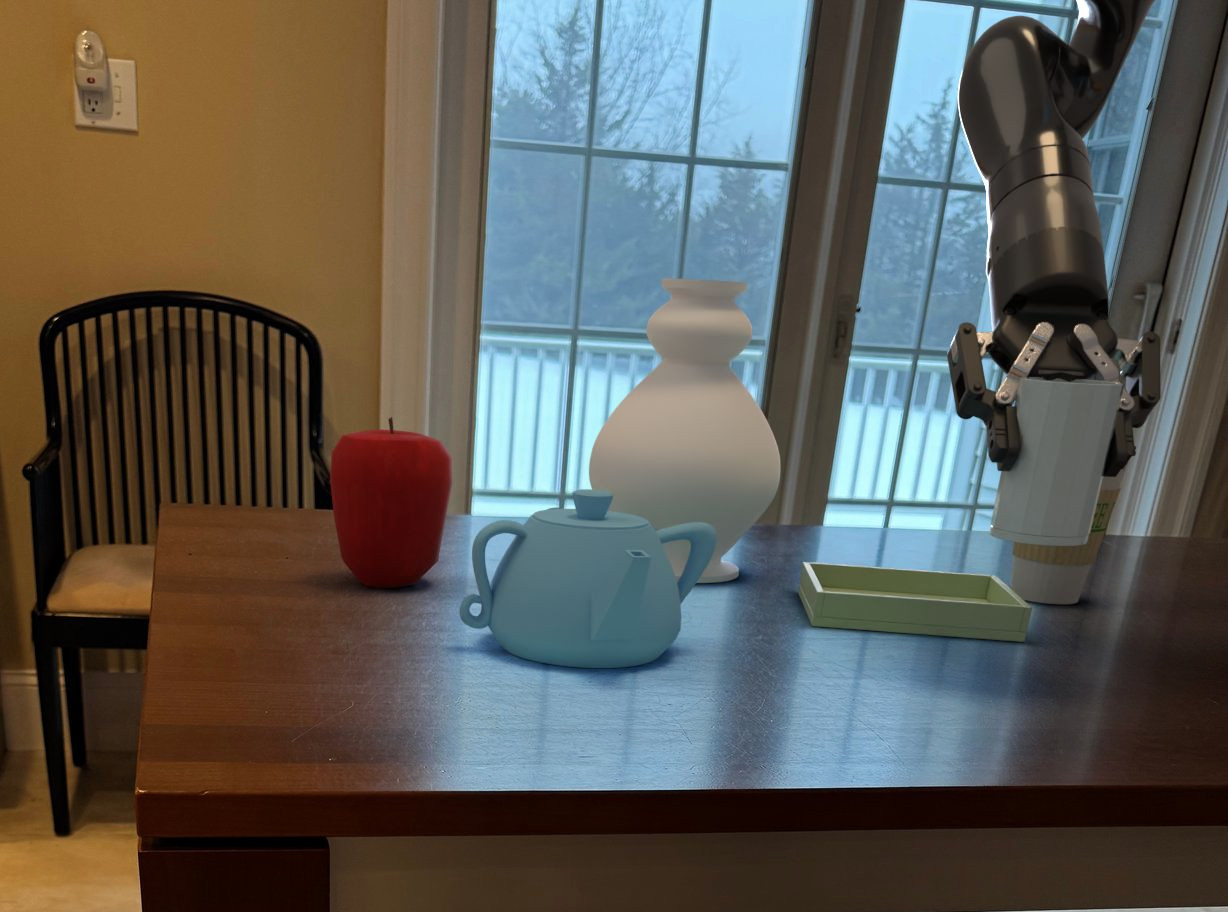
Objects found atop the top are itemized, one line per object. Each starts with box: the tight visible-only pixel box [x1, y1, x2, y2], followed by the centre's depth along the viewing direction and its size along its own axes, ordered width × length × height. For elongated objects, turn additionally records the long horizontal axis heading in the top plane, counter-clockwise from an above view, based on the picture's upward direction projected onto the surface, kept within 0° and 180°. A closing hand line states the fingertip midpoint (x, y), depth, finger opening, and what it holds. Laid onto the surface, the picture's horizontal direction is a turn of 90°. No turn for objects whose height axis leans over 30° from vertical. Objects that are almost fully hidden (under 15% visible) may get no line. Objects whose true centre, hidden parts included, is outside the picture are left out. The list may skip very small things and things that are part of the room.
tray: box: [797, 561, 1033, 643], centre depth 120 cm, size 17×14×3 cm
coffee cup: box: [1009, 445, 1137, 605], centre depth 129 cm, size 10×10×15 cm
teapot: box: [459, 488, 717, 669], centre depth 102 cm, size 15×17×11 cm
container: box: [989, 377, 1126, 546], centre depth 94 cm, size 6×6×10 cm
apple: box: [329, 416, 453, 589], centre depth 120 cm, size 10×10×14 cm
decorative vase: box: [588, 277, 781, 584], centre depth 129 cm, size 18×18×25 cm
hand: (1062, 465), depth 93 cm, fingers closed on container, 6 cm apart
